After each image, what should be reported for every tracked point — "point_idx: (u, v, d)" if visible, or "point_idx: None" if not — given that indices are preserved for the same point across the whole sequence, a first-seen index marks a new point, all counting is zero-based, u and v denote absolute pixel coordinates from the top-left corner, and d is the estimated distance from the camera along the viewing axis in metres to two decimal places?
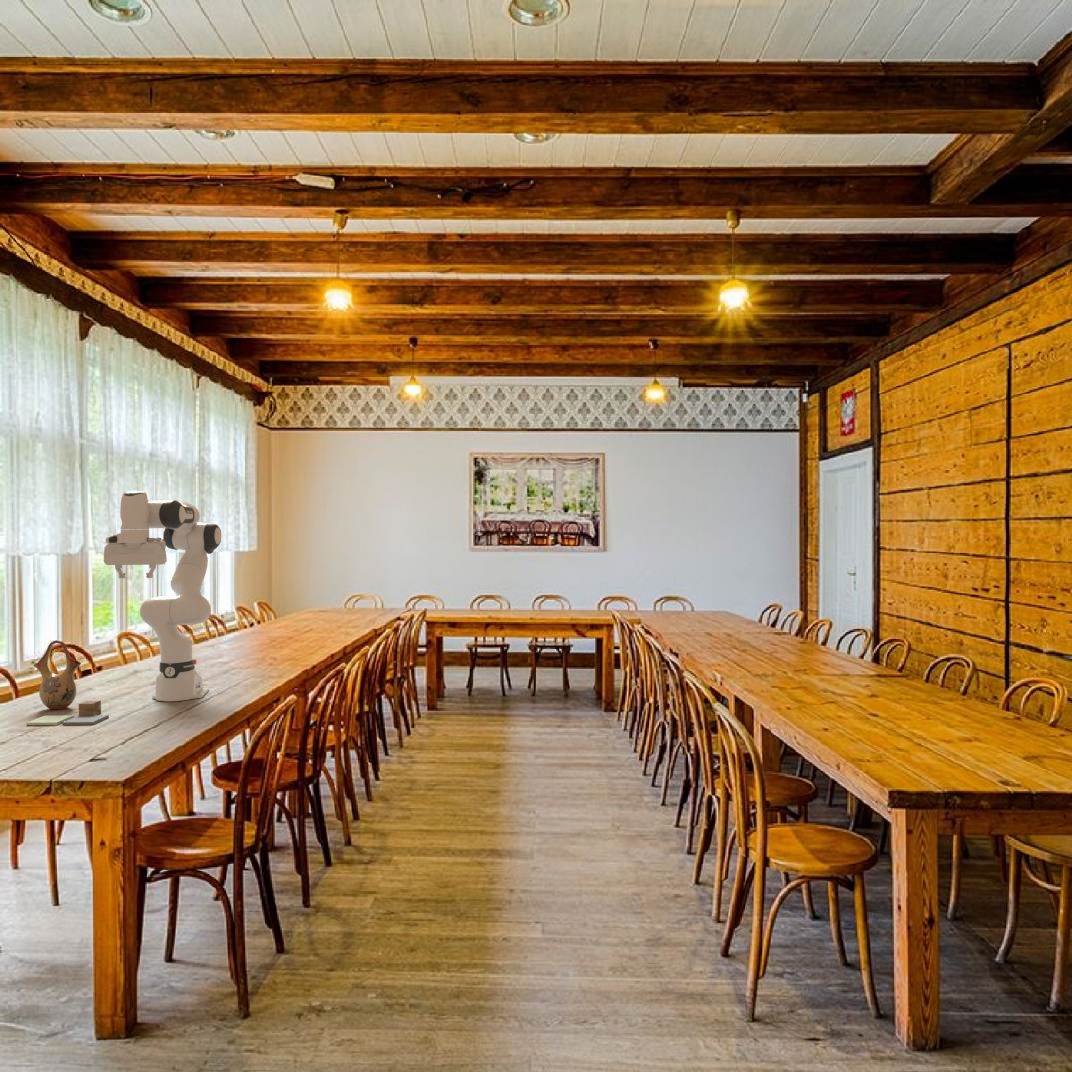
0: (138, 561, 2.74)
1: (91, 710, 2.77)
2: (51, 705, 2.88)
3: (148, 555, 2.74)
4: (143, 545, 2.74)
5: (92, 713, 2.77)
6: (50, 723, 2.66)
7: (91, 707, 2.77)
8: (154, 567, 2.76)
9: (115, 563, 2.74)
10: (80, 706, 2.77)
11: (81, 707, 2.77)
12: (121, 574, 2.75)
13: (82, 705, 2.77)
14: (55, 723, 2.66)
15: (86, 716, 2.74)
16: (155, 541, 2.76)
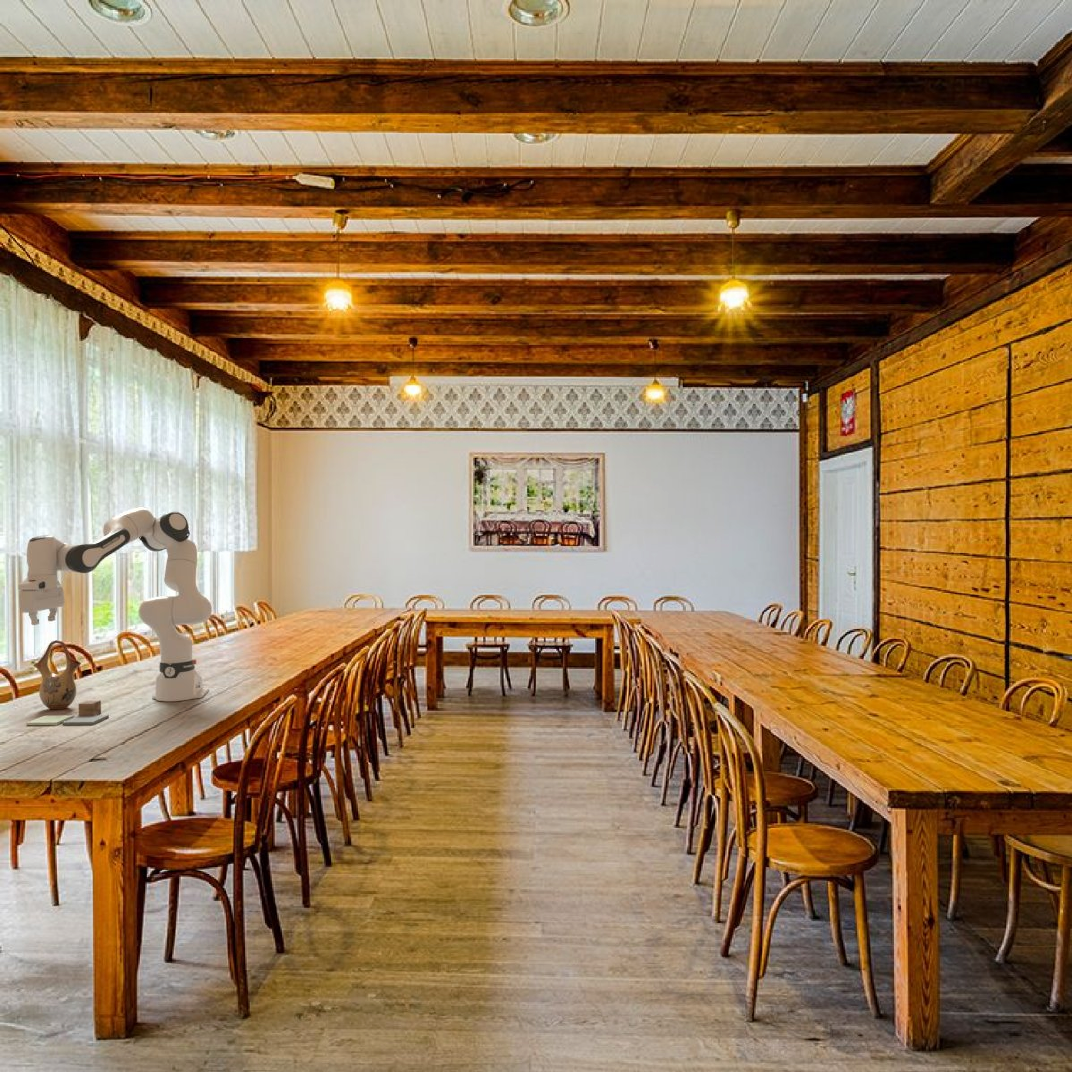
0: (51, 605, 2.78)
1: (91, 710, 2.77)
2: (51, 705, 2.88)
3: (57, 598, 2.81)
4: (54, 589, 2.80)
5: (92, 713, 2.77)
6: (50, 723, 2.66)
7: (91, 707, 2.77)
8: None
9: (37, 609, 2.70)
10: (80, 706, 2.77)
11: (81, 707, 2.77)
12: (38, 620, 2.72)
13: (82, 705, 2.77)
14: (55, 723, 2.66)
15: (86, 716, 2.74)
16: None
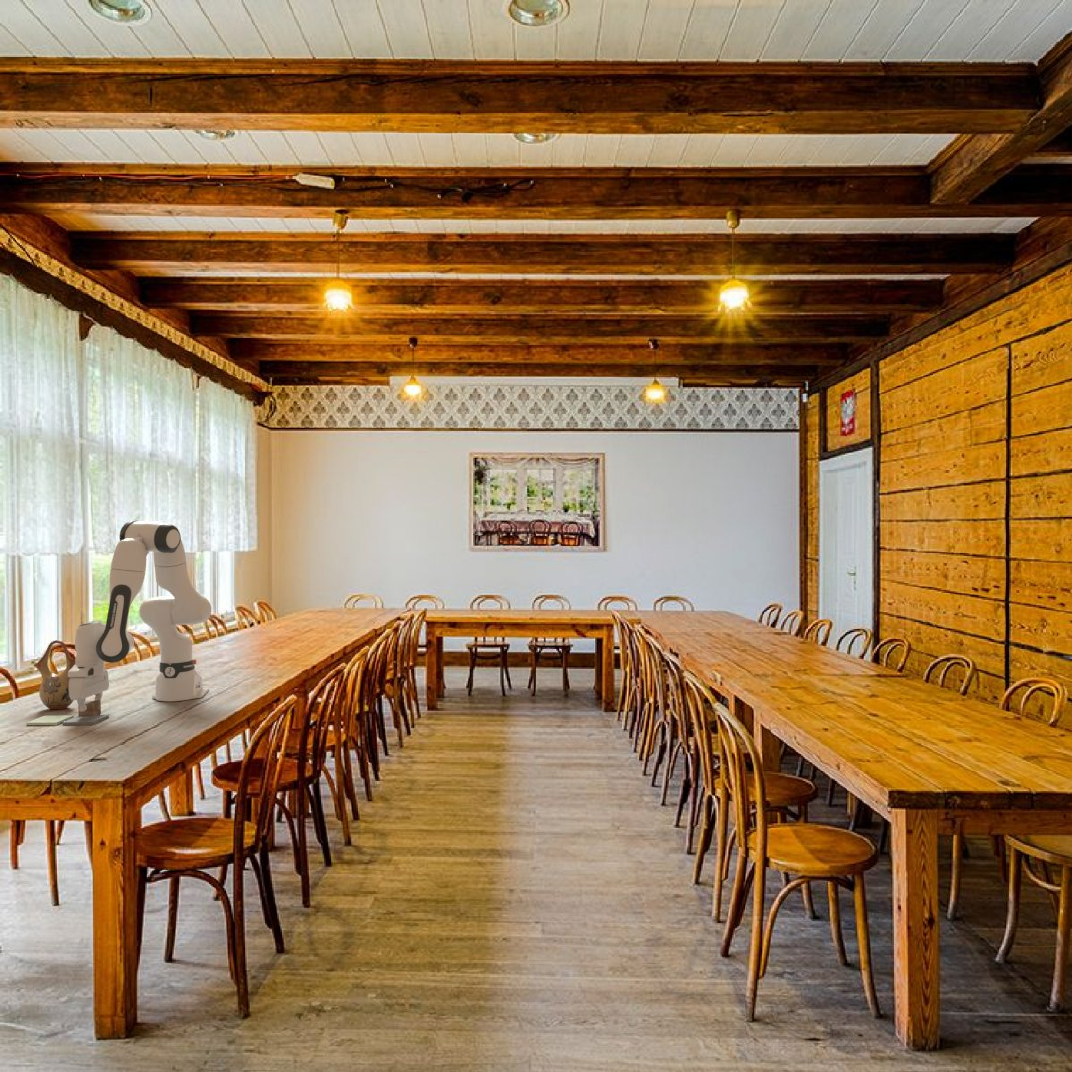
0: (98, 690, 2.80)
1: (91, 710, 2.77)
2: (51, 705, 2.88)
3: (102, 683, 2.84)
4: (100, 673, 2.82)
5: (92, 713, 2.77)
6: (50, 723, 2.66)
7: (90, 707, 2.77)
8: None
9: (86, 696, 2.72)
10: None
11: None
12: (86, 706, 2.74)
13: None
14: (55, 723, 2.66)
15: (86, 716, 2.74)
16: None
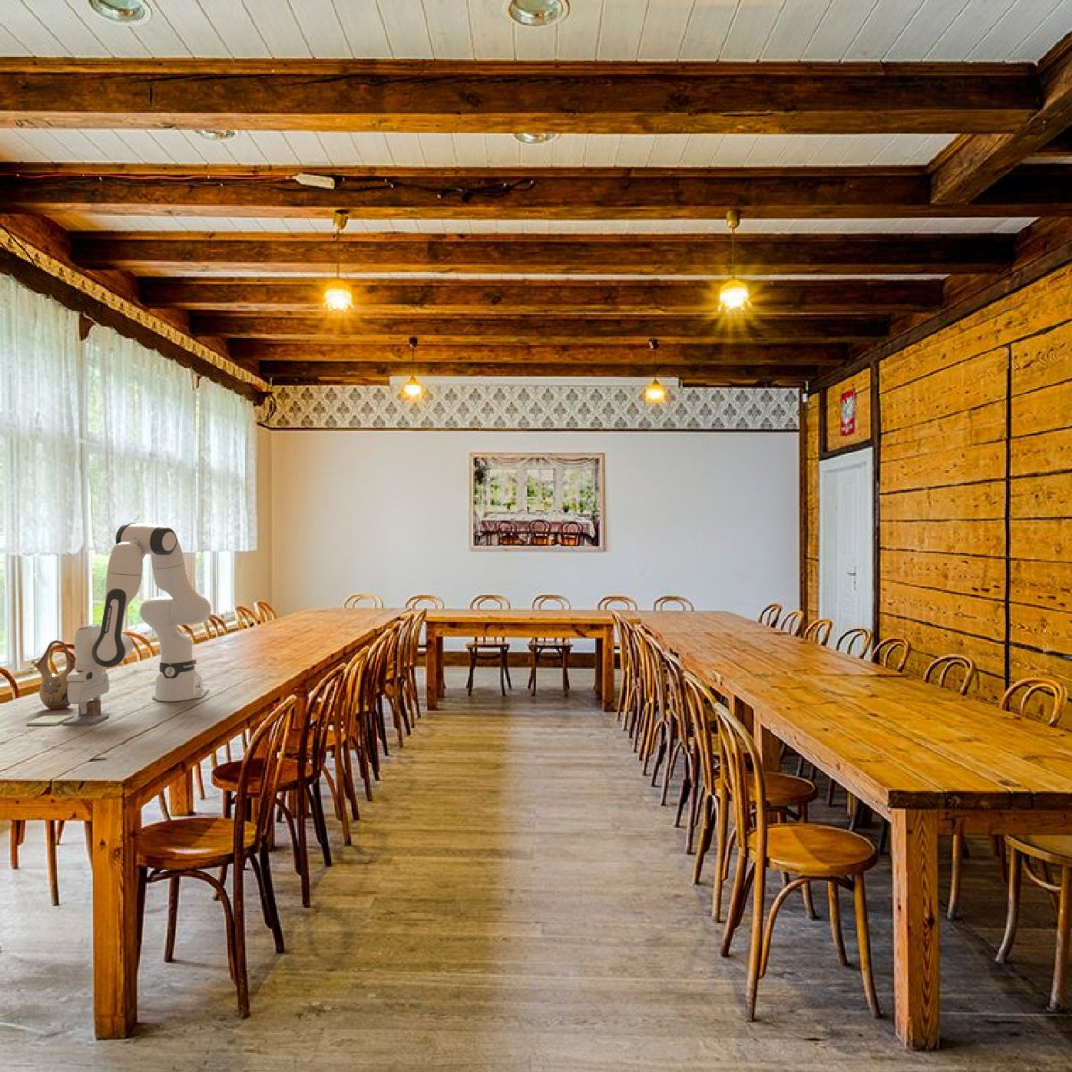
0: (97, 693, 2.81)
1: (91, 710, 2.77)
2: (51, 705, 2.88)
3: (102, 686, 2.84)
4: (100, 677, 2.83)
5: (92, 713, 2.77)
6: (50, 723, 2.66)
7: (91, 707, 2.77)
8: None
9: (85, 700, 2.73)
10: None
11: None
12: (87, 709, 2.76)
13: None
14: (55, 723, 2.66)
15: (86, 716, 2.74)
16: None
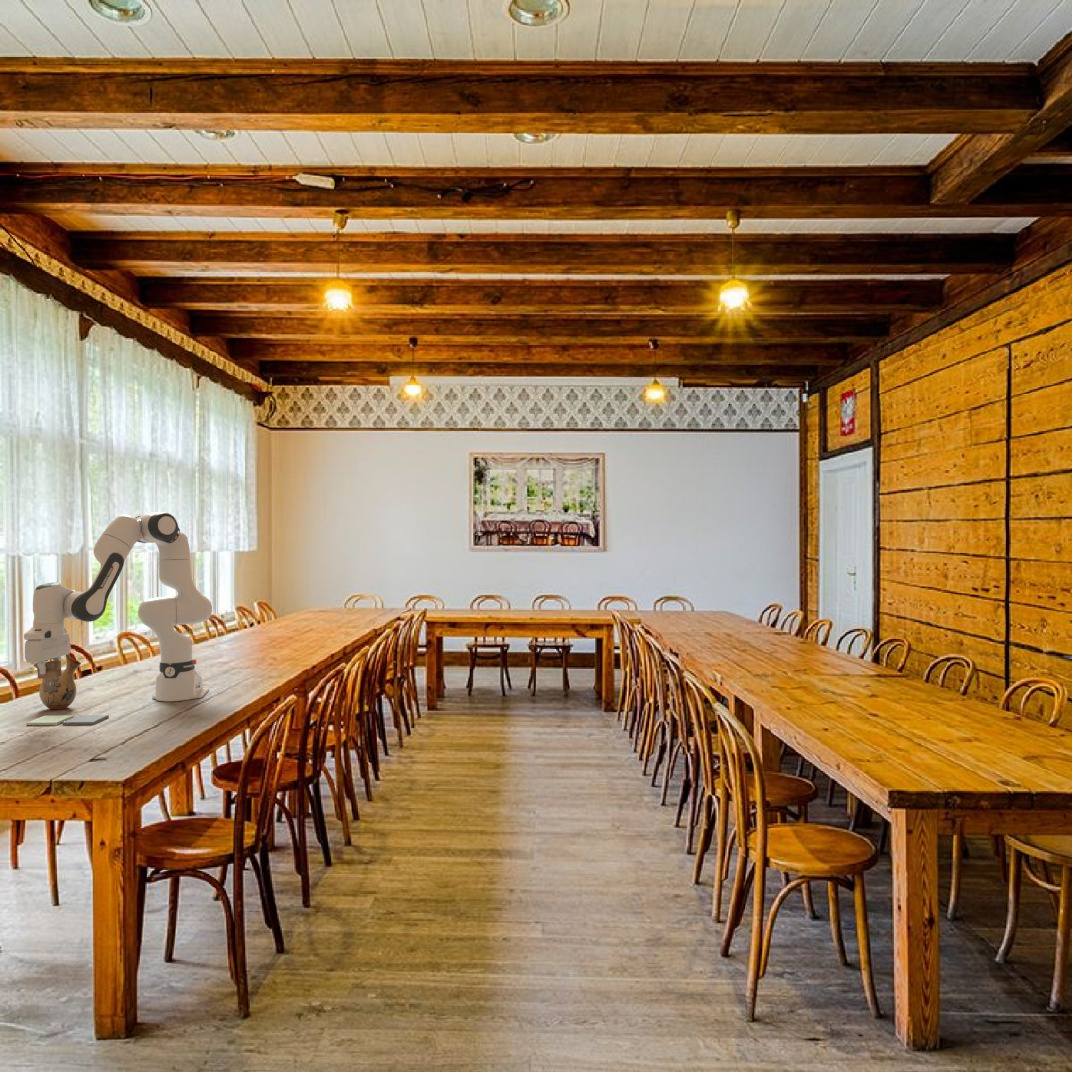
0: (57, 653, 2.73)
1: (51, 670, 2.69)
2: (51, 705, 2.88)
3: (63, 647, 2.76)
4: (60, 637, 2.75)
5: (51, 673, 2.69)
6: (50, 723, 2.66)
7: (50, 667, 2.69)
8: None
9: (43, 659, 2.65)
10: None
11: None
12: (46, 669, 2.68)
13: None
14: (55, 723, 2.66)
15: (86, 716, 2.74)
16: None
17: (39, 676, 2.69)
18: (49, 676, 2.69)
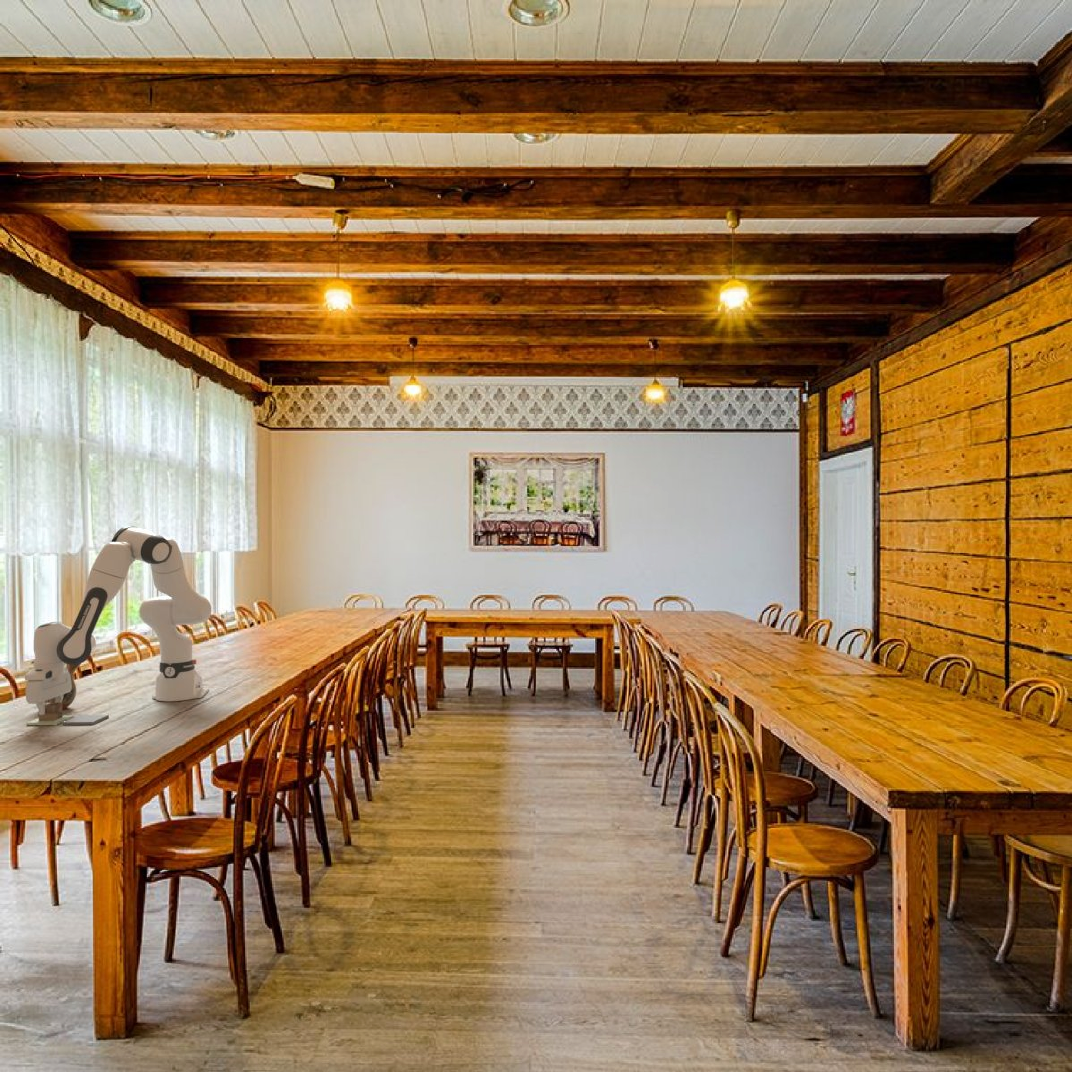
0: (58, 692, 2.73)
1: (52, 713, 2.69)
2: None
3: (64, 685, 2.76)
4: (61, 676, 2.75)
5: (52, 716, 2.69)
6: (50, 723, 2.66)
7: (51, 710, 2.69)
8: None
9: (44, 699, 2.65)
10: None
11: None
12: (45, 709, 2.67)
13: None
14: (55, 723, 2.66)
15: (86, 716, 2.74)
16: None
17: (40, 718, 2.69)
18: (50, 718, 2.69)
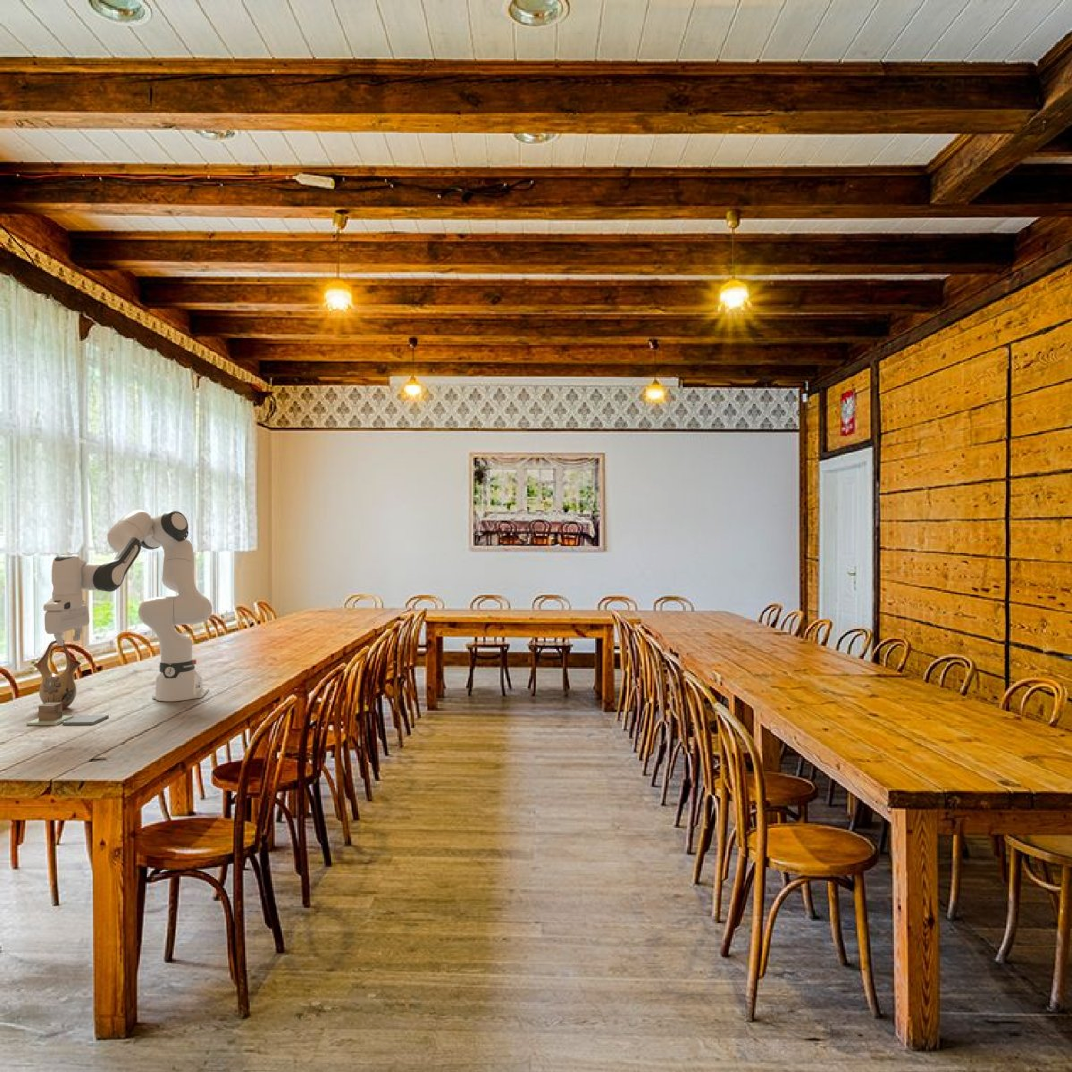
0: (76, 625, 2.74)
1: (52, 713, 2.69)
2: None
3: (82, 618, 2.77)
4: (79, 608, 2.75)
5: (52, 716, 2.69)
6: (50, 723, 2.66)
7: (51, 710, 2.69)
8: None
9: (63, 630, 2.66)
10: (40, 708, 2.69)
11: (41, 709, 2.69)
12: (63, 641, 2.67)
13: (42, 707, 2.69)
14: (55, 723, 2.66)
15: (86, 716, 2.74)
16: None
17: (40, 718, 2.69)
18: (50, 718, 2.69)
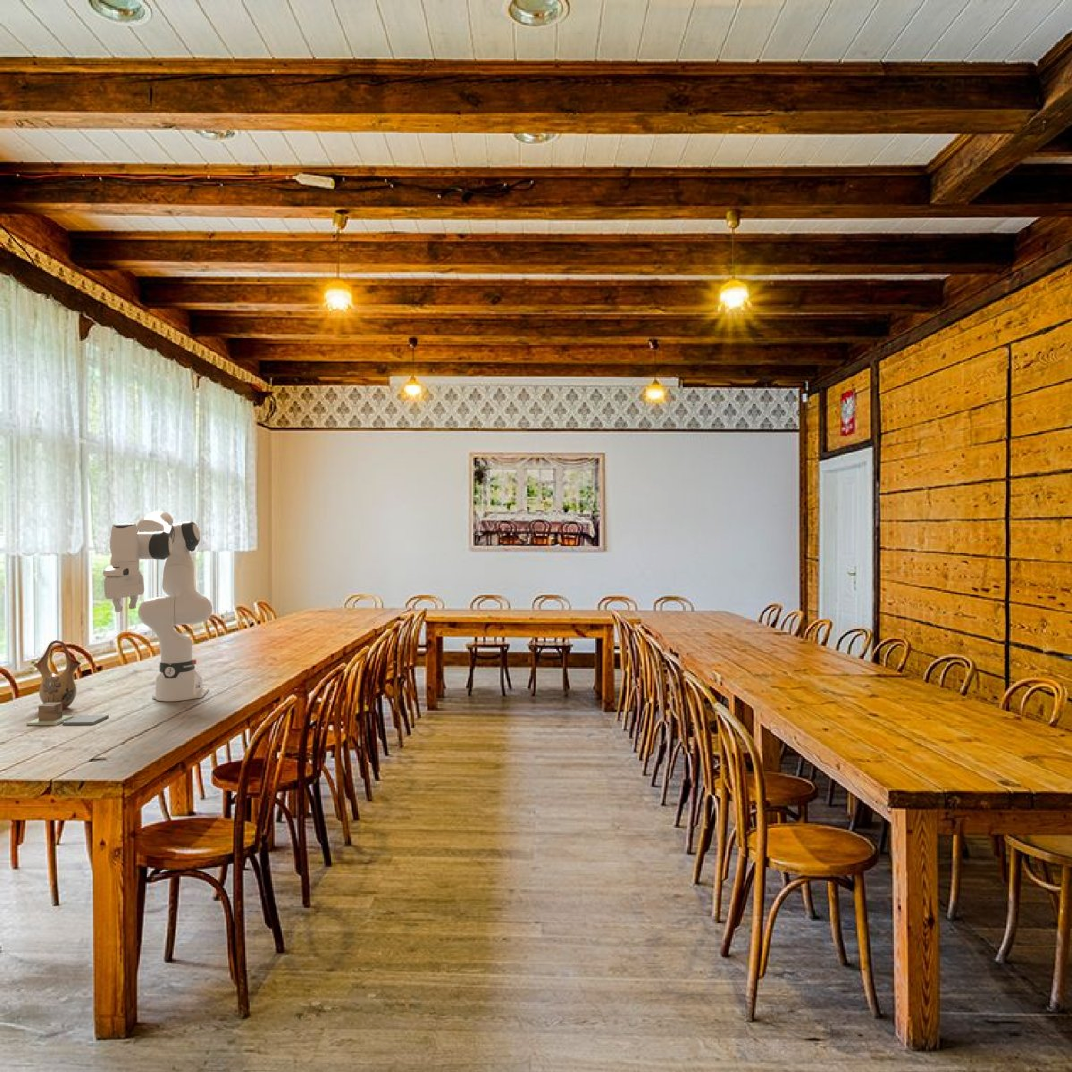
0: (133, 592, 2.77)
1: (52, 713, 2.69)
2: None
3: (138, 586, 2.80)
4: (135, 576, 2.78)
5: (52, 716, 2.69)
6: (50, 723, 2.66)
7: (51, 710, 2.69)
8: None
9: (121, 596, 2.69)
10: (40, 708, 2.69)
11: (41, 709, 2.69)
12: (121, 607, 2.70)
13: (42, 707, 2.69)
14: (55, 723, 2.66)
15: (86, 716, 2.74)
16: None
17: (40, 718, 2.69)
18: (50, 718, 2.69)
